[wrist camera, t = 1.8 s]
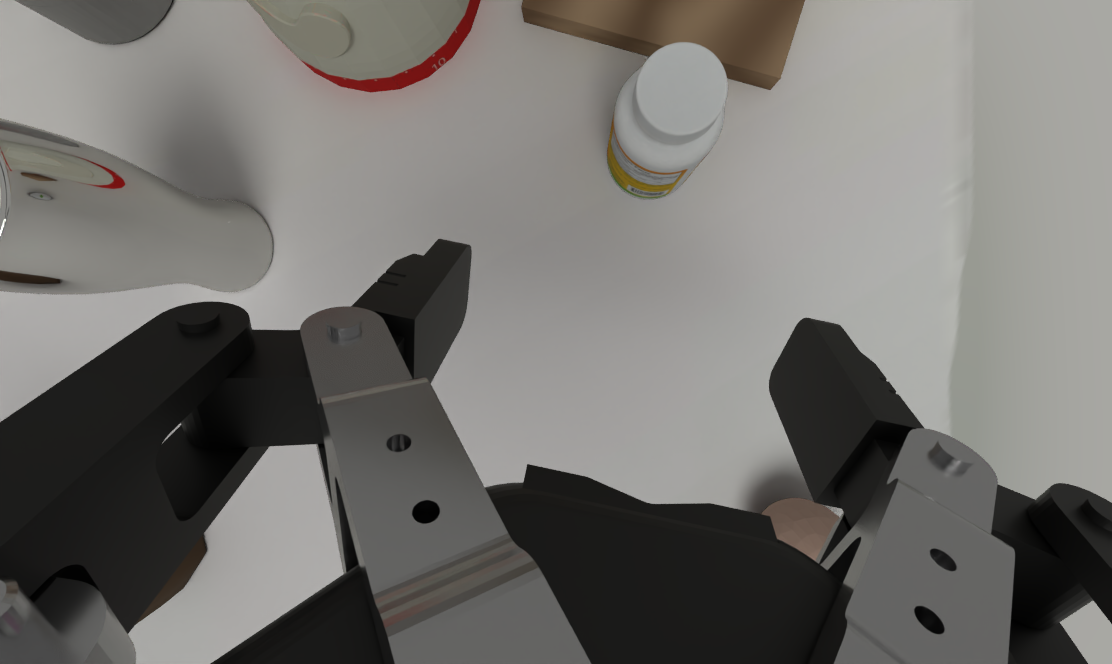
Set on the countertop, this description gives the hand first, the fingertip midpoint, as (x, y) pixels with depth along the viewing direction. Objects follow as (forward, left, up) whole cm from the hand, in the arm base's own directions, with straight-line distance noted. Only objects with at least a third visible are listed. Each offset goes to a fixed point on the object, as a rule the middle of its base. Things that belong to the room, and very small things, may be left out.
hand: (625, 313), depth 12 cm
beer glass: (-25, -3, -19) cm, 31 cm away
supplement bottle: (0, +10, -19) cm, 22 cm away
